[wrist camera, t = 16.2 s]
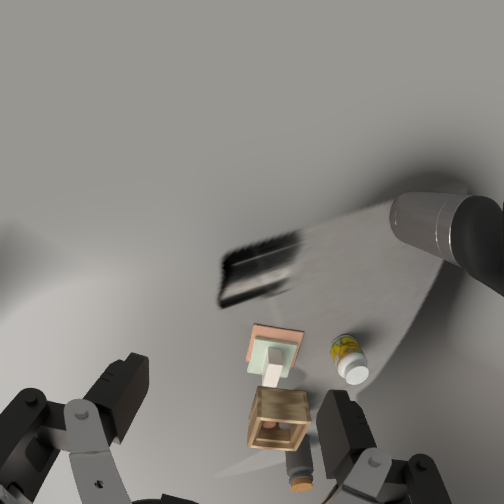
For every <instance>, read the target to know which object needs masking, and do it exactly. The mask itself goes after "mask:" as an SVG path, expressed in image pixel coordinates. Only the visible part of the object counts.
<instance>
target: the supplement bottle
mask: <svg viewBox="0 0 504 504" xmlns="http://www.w3.org/2000/svg"><path fill="white" fill-rule="evenodd" d="M330 353H331V356H332V358H333V361H334V363H335V366H336V368H337V370H338V373H339V374H340V376H342V377H343V378H345V379H346V381H347V382H348V383H349V384H351V385H356V384H360V383H362V382H363V381H364V380H365V379H366V378H367V377H368V374H369V370H368V368H367V358H366V356H365V355H364V353H363V351H362V350H361V348H360V346H359V345H358V343H357V341H356V340H355V339H354V338H353V337H352V336H350V335H343V336H340V337H338V338H337V339H335V340H334V341H333V342H332V344H331V346H330Z"/></svg>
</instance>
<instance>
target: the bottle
mask: <svg viewBox="0 0 504 504" xmlns="http://www.w3.org/2000/svg"><path fill="white" fill-rule="evenodd" d="M285 452H286V467H287V475H288V476H289V477H290V479H289V483H290V484H291V490H292V491H294V492H303V491H307V490H310V489H311V488H312V487H313V484H312V481H313V476H312V475H311V474H312V473H313V462H312V457H311V449H310V443H309V438H308V436H307V435H305V436H304V437H303V439H302V441H301V443H300V445H299V447H298V448H297V450H296V451H285Z"/></svg>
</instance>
